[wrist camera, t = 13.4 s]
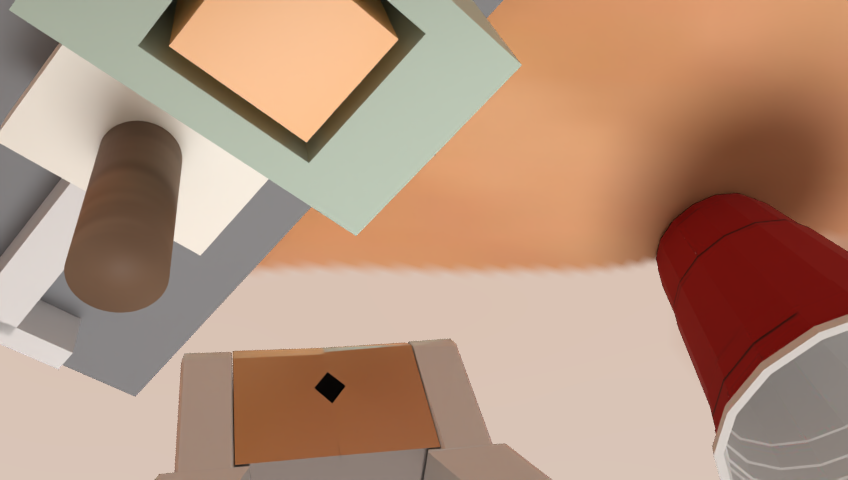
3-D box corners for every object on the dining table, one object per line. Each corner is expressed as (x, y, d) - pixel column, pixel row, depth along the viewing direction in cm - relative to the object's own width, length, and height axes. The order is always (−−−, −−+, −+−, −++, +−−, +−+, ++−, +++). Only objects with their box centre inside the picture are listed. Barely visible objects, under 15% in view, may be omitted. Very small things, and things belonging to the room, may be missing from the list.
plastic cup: (648, 128, 34) (815, 305, 24) (856, 153, 37) (1078, 321, 27) (569, 326, 39) (678, 534, 30) (754, 334, 42) (908, 526, 33)
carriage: (19, 90, 26) (-71, 260, 18) (87, -4, 25) (21, 135, 17) (203, 200, 29) (192, 382, 22) (270, 123, 28) (284, 286, 21)
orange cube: (179, -13, 22) (168, 45, 18) (258, -116, 21) (263, -76, 17) (295, 74, 24) (306, 142, 20) (373, -16, 23) (398, 39, 19)
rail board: (-209, 215, 29) (-371, 407, 21) (181, -395, 21) (151, -439, 14) (138, 372, 36) (112, 559, 28) (521, -45, 28) (626, 54, 21)
